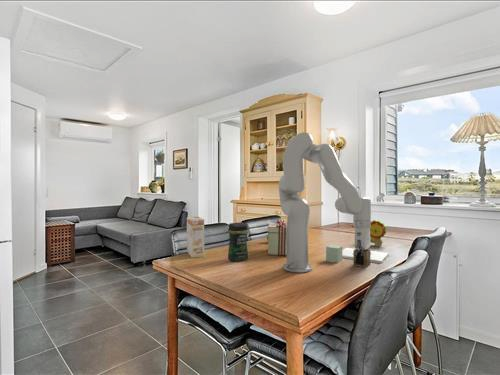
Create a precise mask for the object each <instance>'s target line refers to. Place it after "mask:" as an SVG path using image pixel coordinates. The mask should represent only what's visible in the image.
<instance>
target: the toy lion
mask: <svg viewBox="0 0 500 375" xmlns="http://www.w3.org/2000/svg"><path fill="white" fill-rule="evenodd" d="M386 234H387V226H386V225H385V223H384V222H381V221H380V220H376V219H373V220H371V228H370V243H372V244H374V245H375V246H376V247H382V244H383V240H382V238H383V237H385V236H386Z"/></svg>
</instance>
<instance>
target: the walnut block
mask: <svg viewBox="0 0 500 375" xmlns="http://www.w3.org/2000/svg"><path fill="white" fill-rule="evenodd" d="M354 249H355V250H354V259H353V266H355V265H356V266H355V267H361V266H362V268H368V267H370V266H371V262H370V251H371V249H370V248H368V249H367V250H363V256H364V264H363V265H360V264H356V248H354ZM360 249H362V248H360ZM360 251H361V250H360Z"/></svg>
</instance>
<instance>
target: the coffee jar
mask: <svg viewBox="0 0 500 375" xmlns="http://www.w3.org/2000/svg"><path fill="white" fill-rule="evenodd" d="M227 232H228V236H229V242H228V244H229V245H228V253H227V259H228V260H229V261H231V262H243V261H247V260H248V258H249V252H248V242H247V240H248V239H247V236H248V233H249V229H248V223H247V222H231V223H229V224H228V229H227Z"/></svg>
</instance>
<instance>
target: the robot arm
mask: <svg viewBox="0 0 500 375" xmlns="http://www.w3.org/2000/svg"><path fill="white" fill-rule="evenodd" d="M303 160H304V161H305V160H306V161H308V162H310V163H313V164H317V165H318V166H319V169H320V170H321V173H322V176H323V177H324V178H323V179H324V180H325V181H326V183H328V184H329V185H330V186H332V187H333V189H335V190H336V191H337V192H338V194H340V197H338V198H337V199H336V200H335V201H334V207H335V209H336V210H337V211H338V212H339V213H341V214H347V215H352V217H353V224H352V225H353V228H354V249H356V264H360V265H363V264H364V256H363V250H367V249H370V247H371V245H372V244H371V242H370V228H371V221H372V203H371V202H372V200H371V198H370V197H367V196H360V195H359V192H358V189H357V188H356V186H355V185H354V183H352V181H351V180H350V178H348V176H347V175H346V174H345V172H344V170H343V169H342V166H341V164H340V162H339V159H338V156H337V155H336V152H335V150H334V148H333V146H332V145H330V144H329V143H321V144H318V145H317V144H314V139H313V137H312V135H311V133H309V132H305V131H304V132H299V133H297V134H296V135H294V136H292V137H290V138H289V139H288V141H287V145H286V147H285V150H284V152H283V157H282V165H283V169H282V170H283V175H282V176H281V177H280V178H279V182H278V194H279V202H280V208H281V212H282V213H283V214H284V215H285V216H287V219H286V223H287V227H286V233H287V255H286V262H285V263H284V264H283V265H282V269H283V270H285V271H287V272H291V273H300V274H301V273H307V272H308V273H309V272H310V271H312V270H313V266H312V265H311V264H309V220H310V214H311V212H310V210H311V209H310V205H309V203H308V202H307V200H306V199H304V198H303V197H300V194H301V193H302V192H304V189H305V184H306V183H305V178H304V167H303V166H304V165H303ZM360 248H362V249H360ZM360 250H361V251H360Z"/></svg>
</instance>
